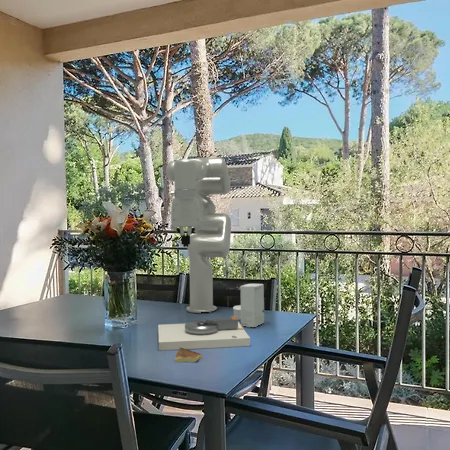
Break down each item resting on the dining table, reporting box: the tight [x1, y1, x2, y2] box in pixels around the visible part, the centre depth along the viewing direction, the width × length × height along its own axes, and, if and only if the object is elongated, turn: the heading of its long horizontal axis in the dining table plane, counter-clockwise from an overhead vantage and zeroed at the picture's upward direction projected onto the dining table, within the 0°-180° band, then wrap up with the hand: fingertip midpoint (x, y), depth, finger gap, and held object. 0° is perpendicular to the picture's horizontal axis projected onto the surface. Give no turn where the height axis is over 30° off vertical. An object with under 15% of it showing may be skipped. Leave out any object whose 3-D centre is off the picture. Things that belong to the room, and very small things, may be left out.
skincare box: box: [240, 283, 265, 328], centre depth 178 cm, size 8×6×15 cm
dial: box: [184, 315, 239, 335], centre depth 161 cm, size 18×11×4 cm, turn 102°
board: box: [157, 321, 251, 351], centre depth 160 cm, size 22×28×3 cm
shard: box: [174, 347, 204, 363], centre depth 142 cm, size 11×8×2 cm
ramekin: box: [232, 304, 241, 319], centre depth 189 cm, size 9×9×4 cm
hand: (185, 246), depth 173 cm, fingers closed
